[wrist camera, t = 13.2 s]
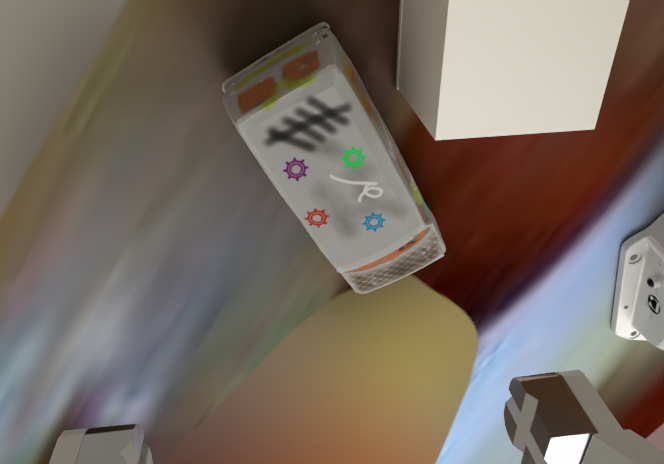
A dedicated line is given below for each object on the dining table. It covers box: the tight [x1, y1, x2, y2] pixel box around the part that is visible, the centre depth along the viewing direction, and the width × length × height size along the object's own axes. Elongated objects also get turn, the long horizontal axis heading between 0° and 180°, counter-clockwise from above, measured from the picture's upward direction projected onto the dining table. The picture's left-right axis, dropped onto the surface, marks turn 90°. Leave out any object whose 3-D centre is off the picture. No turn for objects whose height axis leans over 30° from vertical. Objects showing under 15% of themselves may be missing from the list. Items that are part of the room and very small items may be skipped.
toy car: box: [222, 22, 446, 294], centre depth 47 cm, size 11×25×10 cm, turn 29°
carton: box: [396, 0, 630, 140], centre depth 40 cm, size 13×12×12 cm
